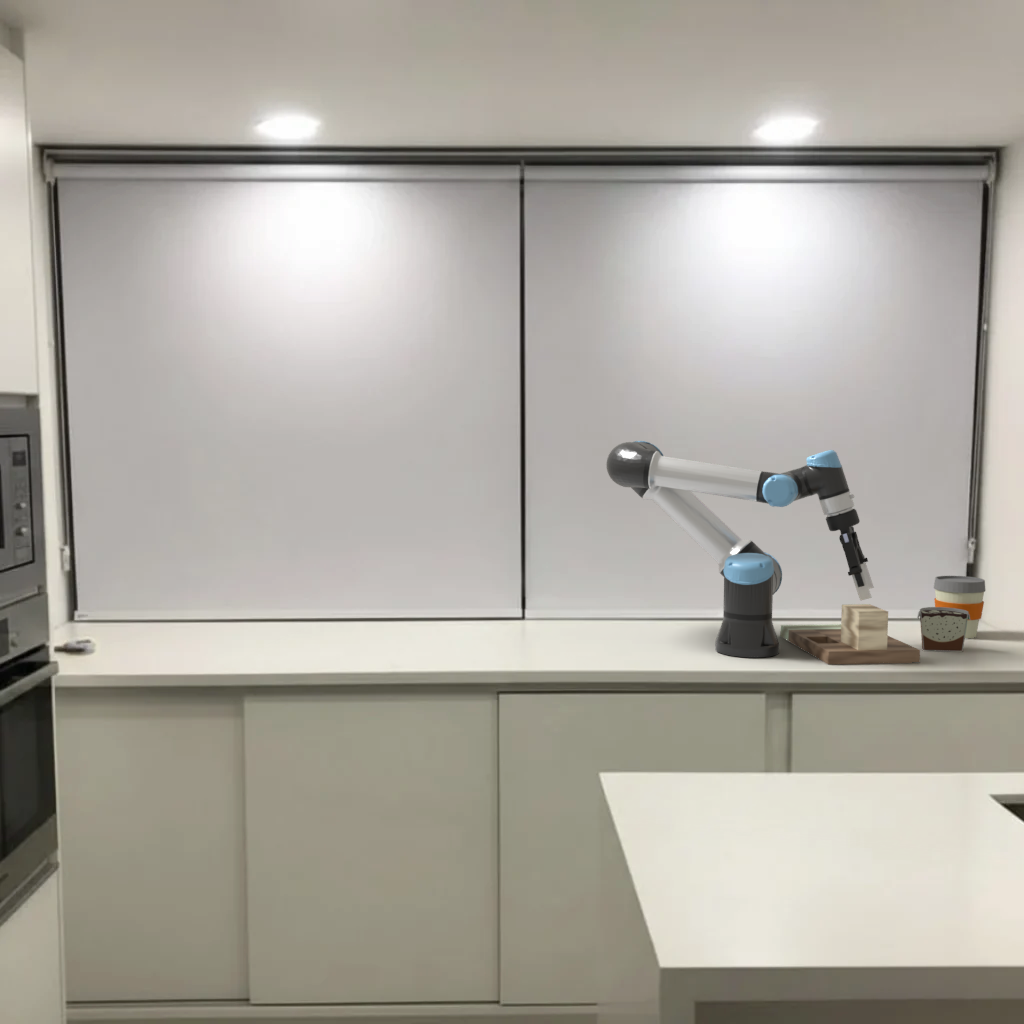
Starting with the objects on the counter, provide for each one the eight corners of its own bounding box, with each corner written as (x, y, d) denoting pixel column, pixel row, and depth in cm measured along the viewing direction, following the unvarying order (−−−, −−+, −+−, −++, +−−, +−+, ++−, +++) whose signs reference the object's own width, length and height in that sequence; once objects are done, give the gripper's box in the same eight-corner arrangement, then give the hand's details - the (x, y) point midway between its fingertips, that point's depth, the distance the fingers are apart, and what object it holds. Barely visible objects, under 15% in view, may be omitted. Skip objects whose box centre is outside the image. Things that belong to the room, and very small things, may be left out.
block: (887, 649, 245) (888, 611, 244) (858, 650, 244) (859, 611, 243) (868, 640, 255) (869, 604, 254) (840, 641, 254) (841, 604, 253)
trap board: (919, 662, 245) (920, 650, 245) (828, 664, 243) (828, 651, 243) (861, 635, 277) (861, 624, 276) (780, 636, 275) (780, 625, 274)
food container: (960, 646, 263) (962, 607, 262) (969, 651, 257) (970, 611, 256) (910, 645, 264) (911, 606, 263) (917, 650, 258) (918, 610, 257)
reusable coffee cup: (923, 634, 278) (925, 578, 276) (946, 628, 286) (948, 574, 284) (969, 642, 268) (972, 584, 267) (992, 635, 276) (994, 579, 275)
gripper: (852, 513, 246) (881, 599, 246) (857, 502, 269) (883, 581, 269) (820, 522, 249) (849, 607, 249) (828, 511, 272) (854, 588, 272)
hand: (867, 593), depth 259 cm, fingers open, 13 cm apart
